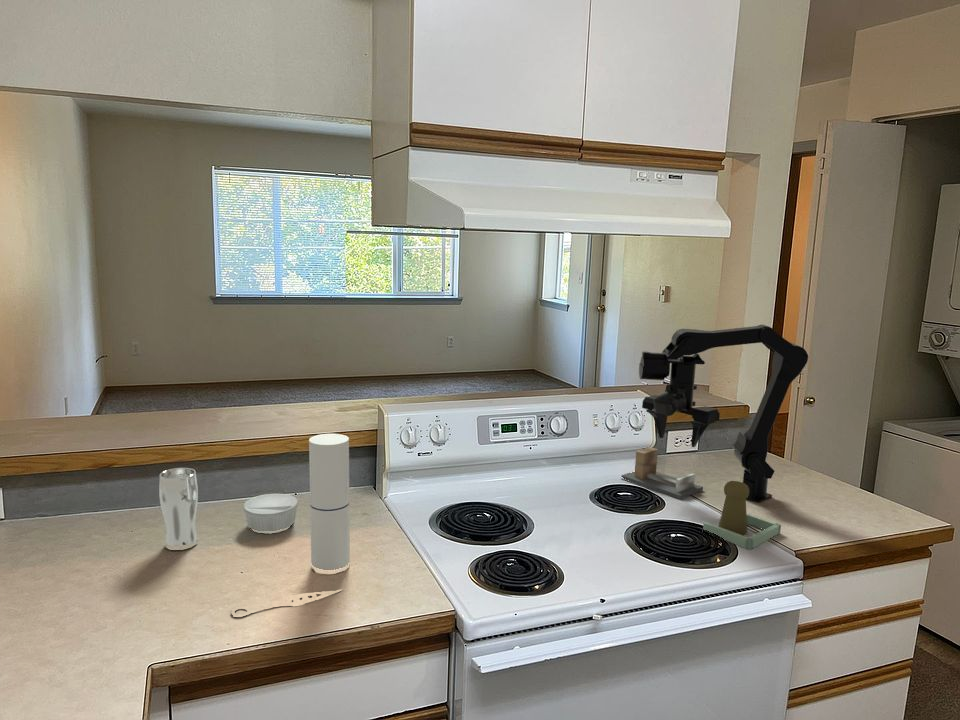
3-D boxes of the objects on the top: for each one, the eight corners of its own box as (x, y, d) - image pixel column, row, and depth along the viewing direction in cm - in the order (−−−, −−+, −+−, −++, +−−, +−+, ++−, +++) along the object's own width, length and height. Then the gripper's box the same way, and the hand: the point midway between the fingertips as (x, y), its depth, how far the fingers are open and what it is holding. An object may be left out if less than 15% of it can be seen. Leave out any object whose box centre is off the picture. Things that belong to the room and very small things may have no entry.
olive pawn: (741, 538, 150) (745, 490, 148) (713, 530, 153) (718, 482, 151) (751, 530, 154) (756, 482, 152) (724, 522, 158) (729, 476, 156)
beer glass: (208, 541, 141) (204, 470, 139) (180, 555, 135) (176, 481, 132) (182, 534, 144) (179, 465, 142) (154, 547, 138) (150, 475, 135)
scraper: (649, 471, 188) (651, 446, 186) (693, 486, 178) (696, 459, 176) (633, 476, 183) (634, 451, 182) (678, 492, 173) (680, 465, 172)
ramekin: (257, 542, 142) (256, 517, 141) (235, 524, 150) (234, 500, 149) (307, 528, 149) (307, 504, 148) (284, 511, 158) (283, 489, 157)
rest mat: (644, 471, 191) (644, 467, 191) (702, 490, 177) (703, 486, 177) (621, 478, 184) (621, 475, 184) (680, 499, 171) (680, 495, 171)
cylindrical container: (316, 578, 128) (314, 446, 123) (307, 561, 134) (304, 436, 130) (354, 570, 131) (353, 442, 127) (343, 554, 137) (342, 431, 133)
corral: (733, 517, 161) (734, 509, 161) (780, 533, 153) (781, 524, 152) (702, 531, 153) (703, 523, 152) (749, 549, 144) (750, 540, 144)
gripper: (630, 378, 173) (626, 438, 175) (697, 392, 159) (691, 458, 162) (657, 373, 180) (653, 431, 183) (723, 386, 166) (717, 449, 169)
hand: (677, 442), depth 174 cm, fingers open, 9 cm apart
